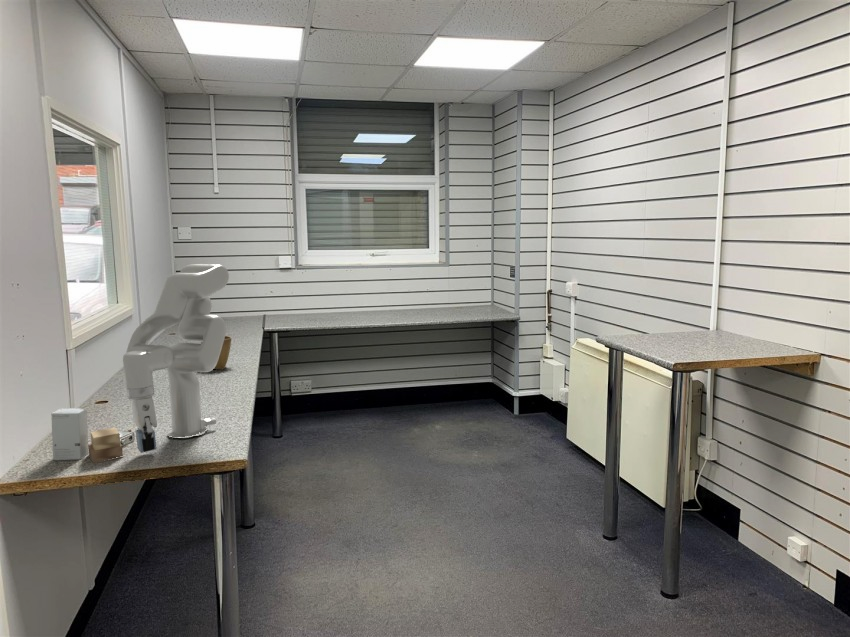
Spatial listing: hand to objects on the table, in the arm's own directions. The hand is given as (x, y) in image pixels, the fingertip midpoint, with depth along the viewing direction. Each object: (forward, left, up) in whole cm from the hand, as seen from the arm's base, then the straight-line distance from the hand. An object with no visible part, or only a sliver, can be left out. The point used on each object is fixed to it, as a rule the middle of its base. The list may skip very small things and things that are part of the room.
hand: (146, 446), depth 184 cm
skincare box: (+19, -13, -3) cm, 23 cm away
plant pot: (-59, -109, -3) cm, 124 cm away
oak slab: (+10, -7, +1) cm, 12 cm away
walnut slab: (+10, -7, -3) cm, 13 cm away
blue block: (0, 0, -1) cm, 1 cm away
